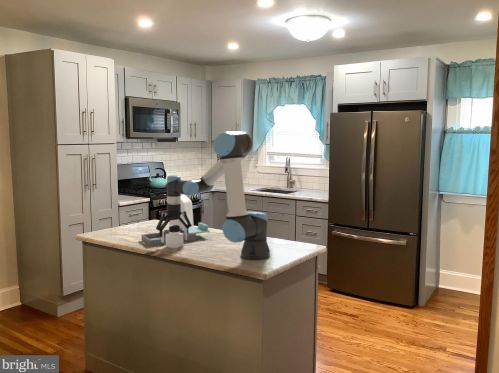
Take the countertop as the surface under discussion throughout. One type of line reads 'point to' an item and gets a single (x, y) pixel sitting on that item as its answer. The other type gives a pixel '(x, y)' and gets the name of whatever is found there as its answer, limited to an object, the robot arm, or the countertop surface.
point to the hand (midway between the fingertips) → (174, 240)
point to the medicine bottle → (174, 237)
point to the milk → (186, 206)
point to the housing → (156, 239)
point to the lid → (198, 228)
